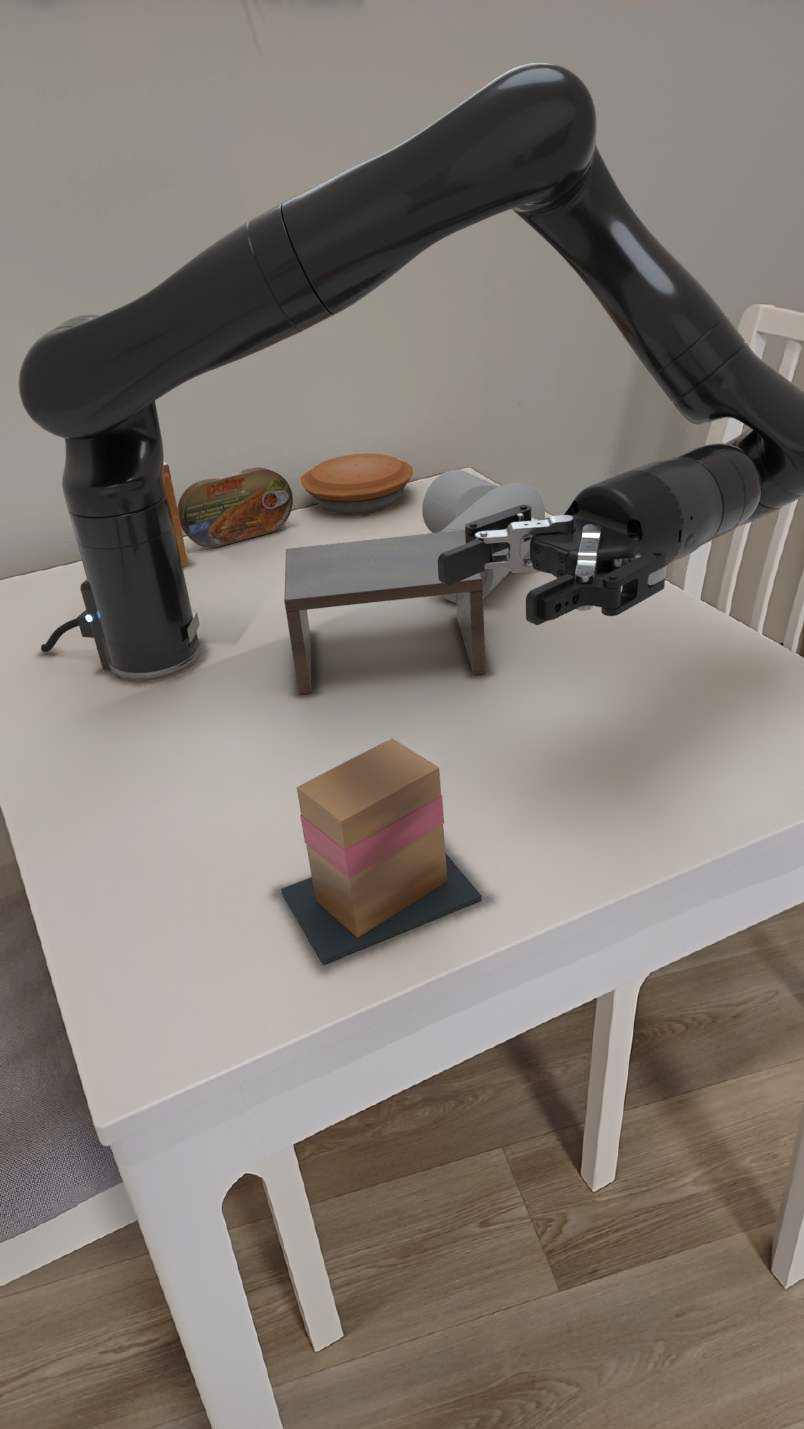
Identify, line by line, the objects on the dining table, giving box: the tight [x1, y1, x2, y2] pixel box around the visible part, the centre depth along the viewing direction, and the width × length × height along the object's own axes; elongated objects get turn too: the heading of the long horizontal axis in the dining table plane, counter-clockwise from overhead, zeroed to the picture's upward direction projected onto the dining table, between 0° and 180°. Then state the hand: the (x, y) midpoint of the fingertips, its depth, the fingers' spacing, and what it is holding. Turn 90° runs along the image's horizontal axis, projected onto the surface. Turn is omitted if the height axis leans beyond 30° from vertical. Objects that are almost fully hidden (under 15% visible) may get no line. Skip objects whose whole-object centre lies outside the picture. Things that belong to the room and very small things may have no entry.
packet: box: [296, 737, 447, 938], centre depth 67 cm, size 8×5×10 cm, turn 129°
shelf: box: [283, 530, 487, 695], centre depth 97 cm, size 12×18×10 cm, turn 95°
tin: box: [177, 467, 294, 549], centre depth 127 cm, size 15×3×8 cm, turn 117°
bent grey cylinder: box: [421, 469, 546, 604], centre depth 113 cm, size 18×11×20 cm
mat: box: [280, 852, 483, 965], centre depth 70 cm, size 12×8×1 cm, turn 116°
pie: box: [300, 453, 414, 515], centre depth 136 cm, size 15×16×5 cm
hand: (483, 590), depth 65 cm, fingers open, 8 cm apart
